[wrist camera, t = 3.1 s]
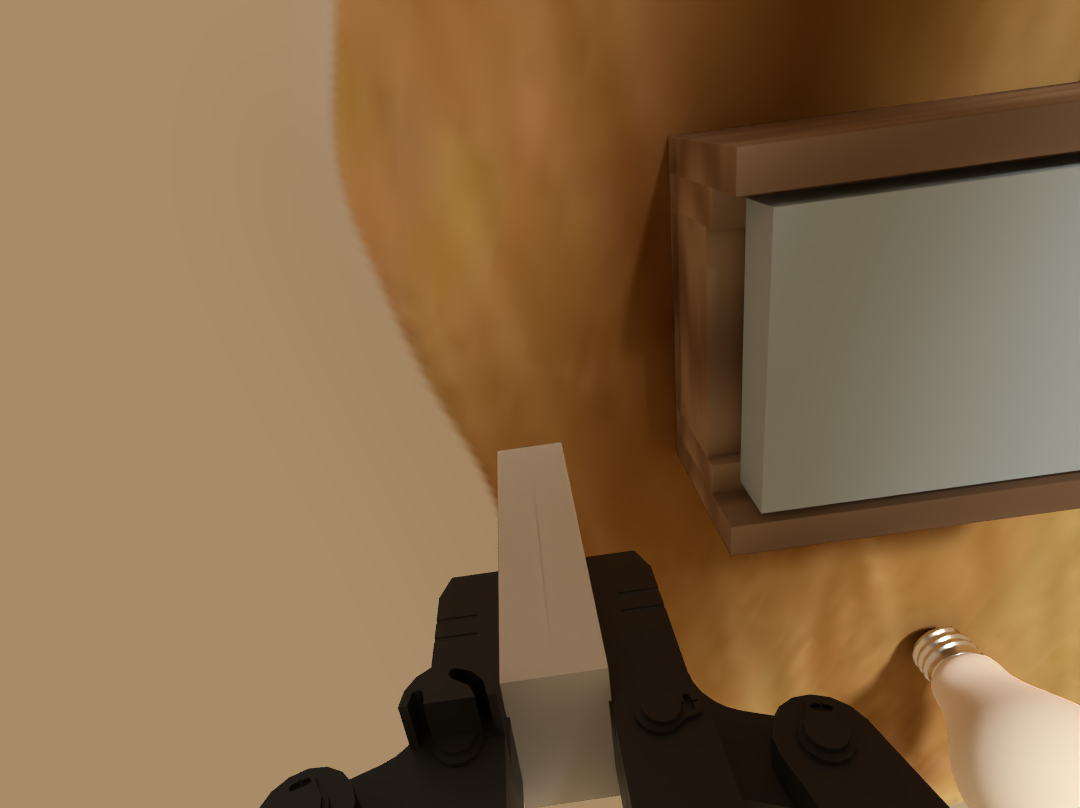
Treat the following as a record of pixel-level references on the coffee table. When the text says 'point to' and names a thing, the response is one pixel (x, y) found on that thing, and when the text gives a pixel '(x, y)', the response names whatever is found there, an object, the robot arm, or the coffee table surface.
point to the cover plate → (911, 334)
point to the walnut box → (718, 290)
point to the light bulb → (1001, 728)
